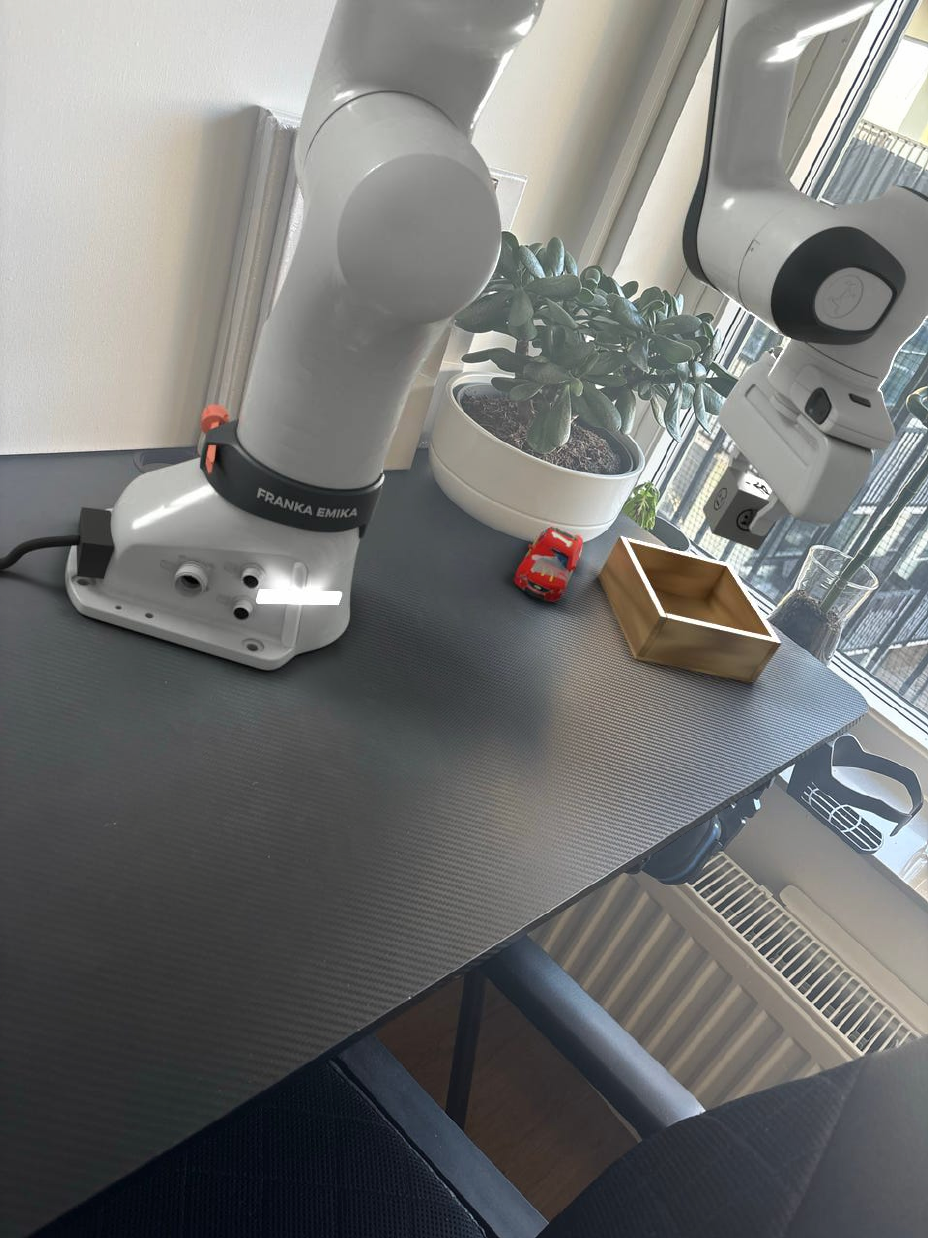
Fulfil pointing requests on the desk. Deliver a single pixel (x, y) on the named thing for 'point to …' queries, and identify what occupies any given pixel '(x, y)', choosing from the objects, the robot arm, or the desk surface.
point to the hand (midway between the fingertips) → (740, 512)
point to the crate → (686, 611)
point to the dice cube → (737, 507)
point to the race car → (549, 564)
